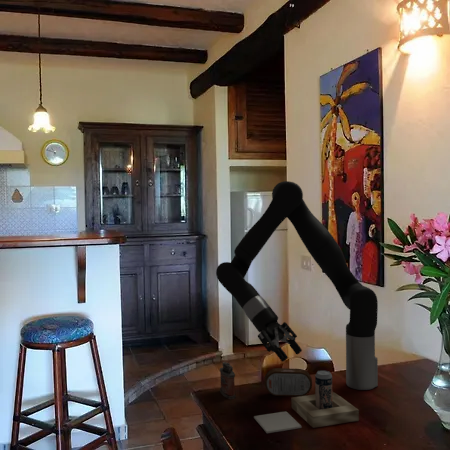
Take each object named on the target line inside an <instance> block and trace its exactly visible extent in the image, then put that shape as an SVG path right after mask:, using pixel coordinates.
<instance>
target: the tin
mask: <svg viewBox="0 0 450 450" xmlns="http://www.w3.org/2000/svg"><path fill="white" fill-rule="evenodd" d="M264 387H265V389H266V391H267V392H268V394H271V395H272V396H277V397H300V396H307V395H308V394H309V393H310V392H311V391H312V387H313V378H312V376H311V374H310V373H309V372H308V371H307V370H305V369H302V368H285V367H284V368H283V367H275V368H271V369H270V370H269V371H267V372H266V374H265V376H264Z"/></svg>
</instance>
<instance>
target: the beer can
mask: <svg viewBox="0 0 450 450" xmlns="http://www.w3.org/2000/svg"><path fill="white" fill-rule="evenodd" d="M314 377H315V378H314V379H315V380H314V381H315V382H314V384H315V390H314V392H315V393H314V394H315V405H316V408H318V409H319V410H320V409H327V408H333V405H332V392H333V374H332V373H331V372H330V371H328V370H317V372H316V373H315V375H314Z"/></svg>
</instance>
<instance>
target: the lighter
mask: <svg viewBox="0 0 450 450" xmlns="http://www.w3.org/2000/svg"><path fill="white" fill-rule="evenodd" d="M219 372H220V373H219V374H220V376H219V377H220V388H219V392H220V394H221V395H222V396H223V397H224V398H226V399H228V400H234V399H235V398H236V394H235V389H236V388H235V377H236V373H235V372H234V367H233V366H232V365H231V364H230V363H229V362H226V361H223V362H222V367H220V368H219Z"/></svg>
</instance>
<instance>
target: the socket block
mask: <svg viewBox="0 0 450 450" xmlns="http://www.w3.org/2000/svg"><path fill="white" fill-rule="evenodd" d="M290 401H291V409H292V410H293V411H295V412H296V413H297V415H299V416H300V417H301V418H302V419H303V420H304V421H306V423H307V424H308V425H310V427H312V428H313V429H314V428H321V427H322V428H323V427H326V426H327V427H328V426H333V425H338V424H339V425H341V424H345V423H346V424H347V423H351V422H359V420H360V414H359V413H360V410H359V409H358V408H357V407H355V406H354V405H353V404H351V403H350V402H349V401H347V400H346V399H344V398H343V397H342V396H340V395H339V394H337V393H336V392H334V391H332V405H333V408H327V409H320V410H319V409H318V408H316V405H315V393H314V394H309V395H308V394H307V395H305V396H300V397H295V396H292V397H291V399H290Z"/></svg>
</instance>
